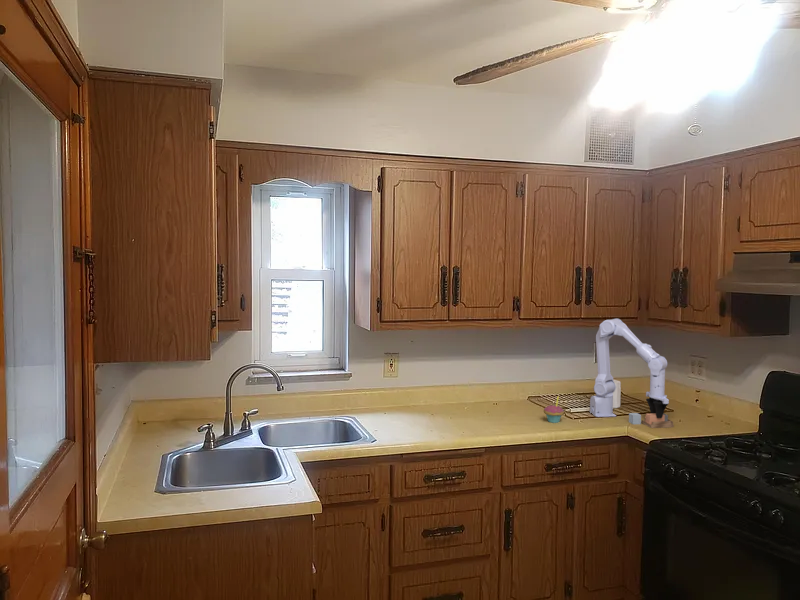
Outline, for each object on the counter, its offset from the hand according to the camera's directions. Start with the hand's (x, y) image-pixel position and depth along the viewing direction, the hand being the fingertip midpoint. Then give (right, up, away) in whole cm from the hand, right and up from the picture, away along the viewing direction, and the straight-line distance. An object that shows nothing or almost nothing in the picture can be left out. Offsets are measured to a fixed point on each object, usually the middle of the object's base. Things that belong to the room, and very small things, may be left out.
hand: (656, 416), depth 252 cm
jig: (0, -4, 0) cm, 4 cm away
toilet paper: (-8, -2, +34) cm, 35 cm away
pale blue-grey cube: (-8, -4, +3) cm, 9 cm away
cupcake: (-42, -4, +6) cm, 43 cm away
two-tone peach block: (0, -3, 0) cm, 3 cm away
